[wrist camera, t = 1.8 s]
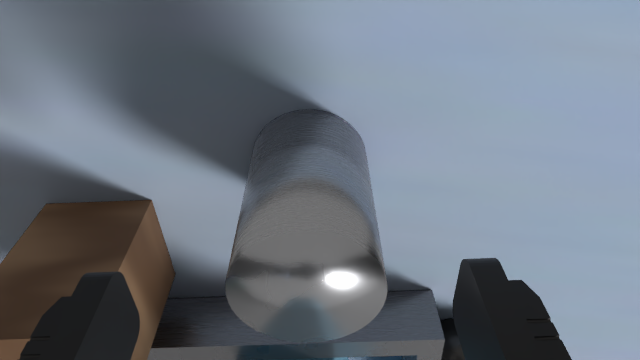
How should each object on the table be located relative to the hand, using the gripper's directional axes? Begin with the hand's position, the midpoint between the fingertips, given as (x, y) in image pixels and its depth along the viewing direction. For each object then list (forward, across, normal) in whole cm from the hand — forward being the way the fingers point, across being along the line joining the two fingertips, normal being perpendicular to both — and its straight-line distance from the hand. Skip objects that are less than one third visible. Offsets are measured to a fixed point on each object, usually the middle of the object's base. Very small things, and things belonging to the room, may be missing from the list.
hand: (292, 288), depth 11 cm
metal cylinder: (+6, 0, 0) cm, 6 cm away
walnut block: (+6, +8, +4) cm, 11 cm away
